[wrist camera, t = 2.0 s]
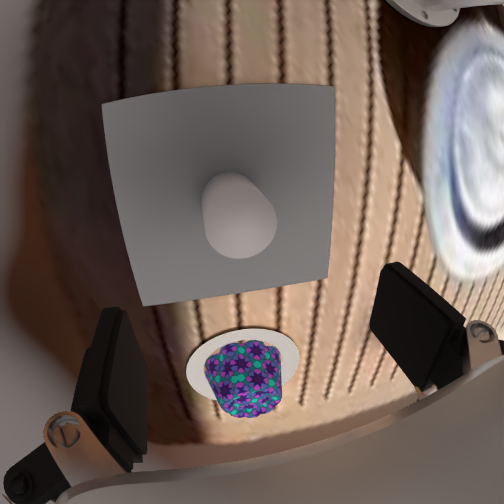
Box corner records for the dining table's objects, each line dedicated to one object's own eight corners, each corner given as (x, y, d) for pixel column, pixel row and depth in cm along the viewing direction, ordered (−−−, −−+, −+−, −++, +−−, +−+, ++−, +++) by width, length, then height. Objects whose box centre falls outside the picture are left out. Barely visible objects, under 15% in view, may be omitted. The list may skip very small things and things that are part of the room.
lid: (105, 104, 16) (74, 103, 11) (328, 86, 19) (373, 83, 13) (144, 299, 24) (137, 348, 18) (322, 272, 26) (353, 312, 21)
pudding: (278, 304, 26) (296, 344, 22) (308, 372, 32) (323, 406, 28) (163, 351, 26) (162, 393, 22) (216, 407, 32) (222, 442, 28)
